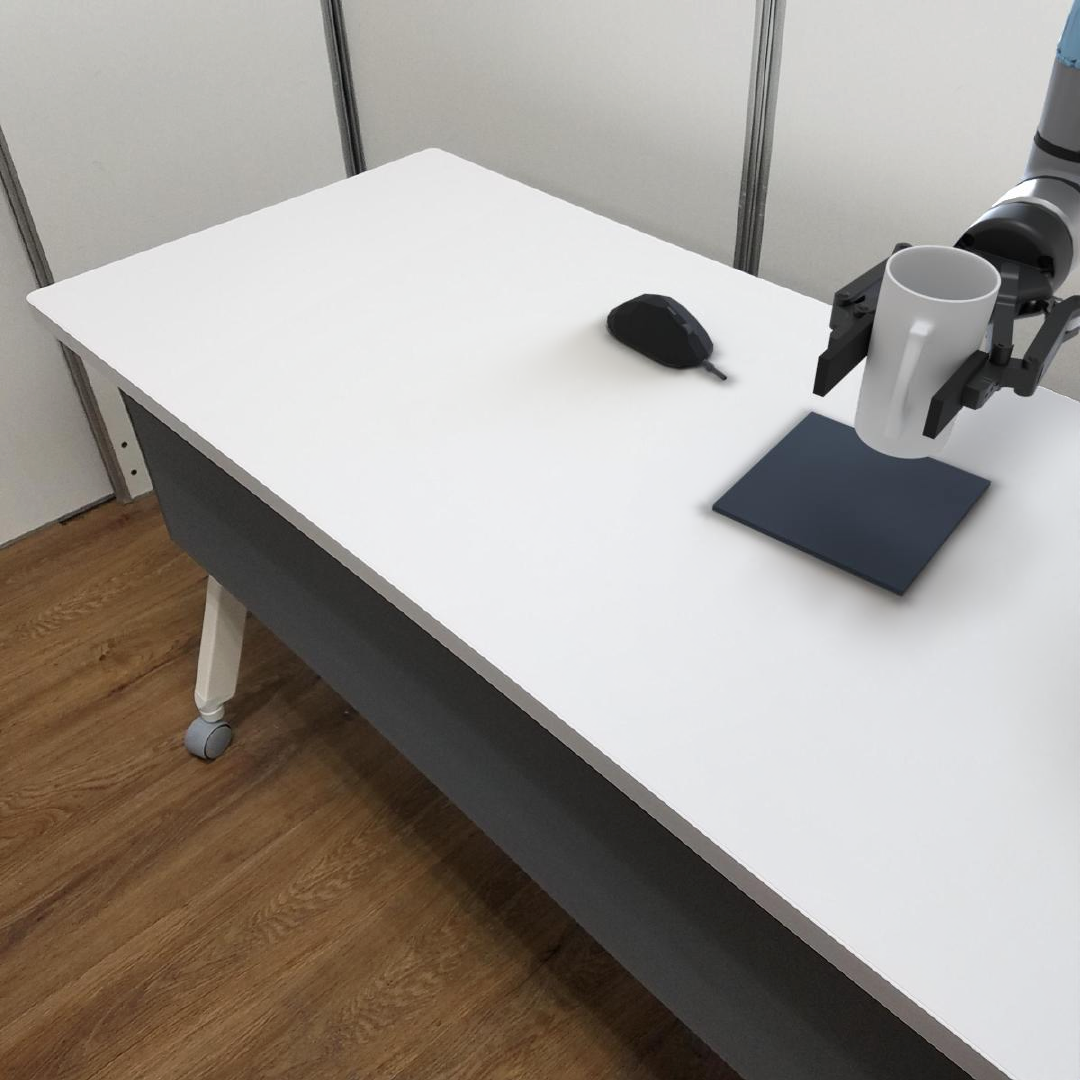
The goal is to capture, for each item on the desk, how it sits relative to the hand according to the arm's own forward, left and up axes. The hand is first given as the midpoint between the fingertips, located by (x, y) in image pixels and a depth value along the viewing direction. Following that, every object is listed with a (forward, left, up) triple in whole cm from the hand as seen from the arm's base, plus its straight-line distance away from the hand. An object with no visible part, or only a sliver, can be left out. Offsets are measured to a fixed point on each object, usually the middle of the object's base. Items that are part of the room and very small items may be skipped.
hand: (875, 397), depth 68 cm
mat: (+5, -12, -18) cm, 23 cm away
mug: (0, -5, -7) cm, 8 cm away
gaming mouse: (+29, -22, -18) cm, 41 cm away
